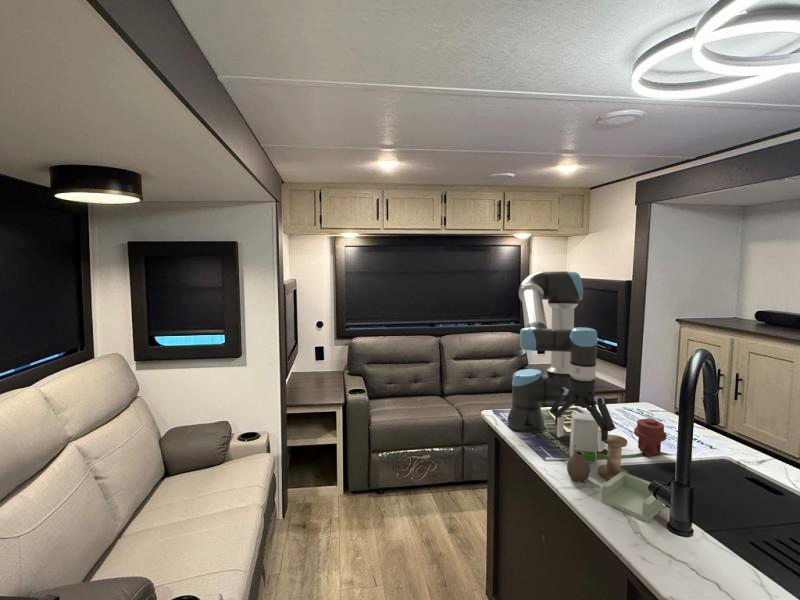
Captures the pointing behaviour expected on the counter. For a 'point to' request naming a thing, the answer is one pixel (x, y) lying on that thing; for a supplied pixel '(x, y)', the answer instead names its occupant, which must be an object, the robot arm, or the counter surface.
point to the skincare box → (584, 436)
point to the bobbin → (613, 457)
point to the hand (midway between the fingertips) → (579, 442)
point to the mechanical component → (650, 436)
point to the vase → (578, 467)
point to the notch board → (631, 496)
